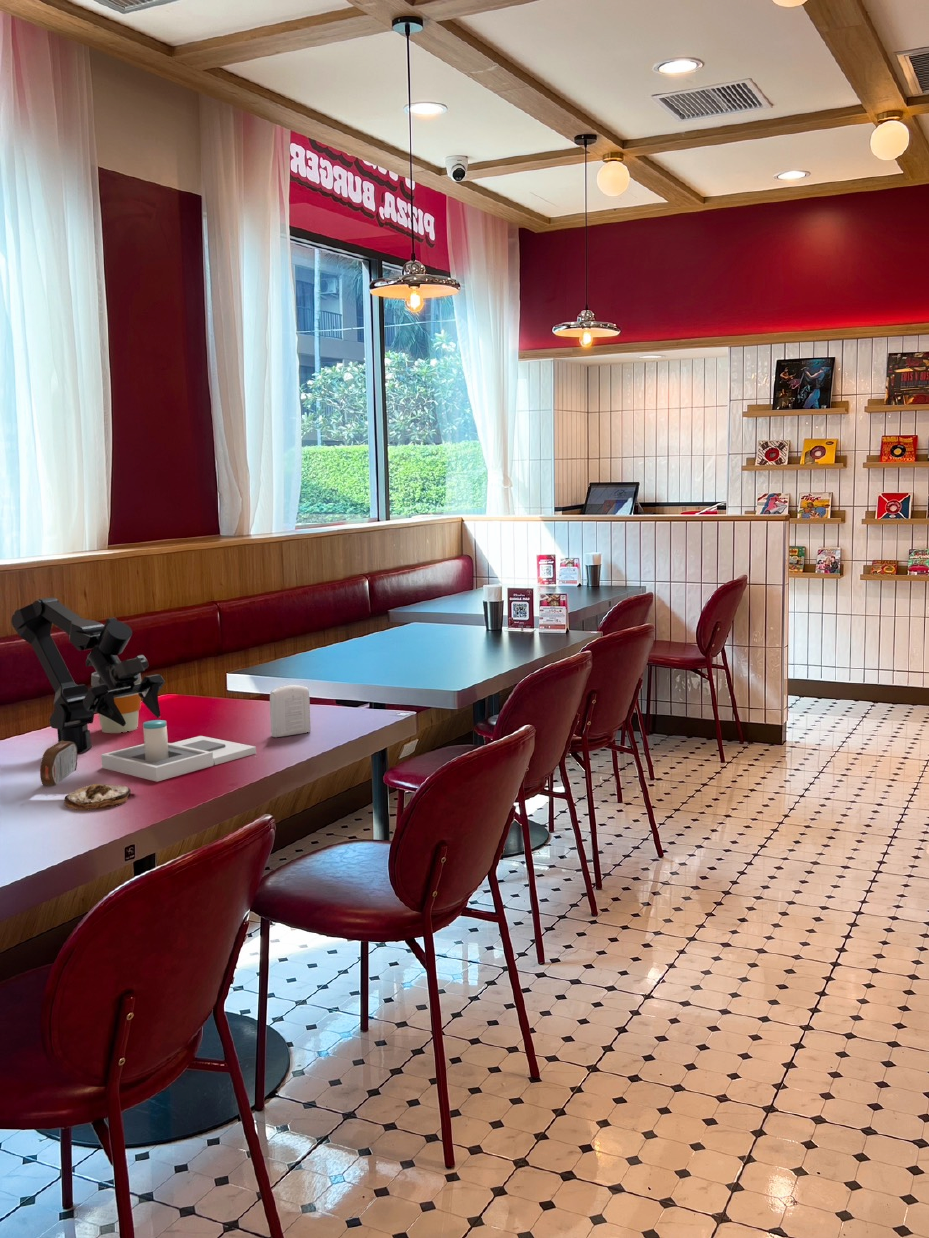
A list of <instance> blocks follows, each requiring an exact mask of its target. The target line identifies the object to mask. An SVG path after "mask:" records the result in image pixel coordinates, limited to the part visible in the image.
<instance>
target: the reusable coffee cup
mask: <svg viewBox="0 0 929 1238" xmlns="http://www.w3.org/2000/svg"><path fill="white" fill-rule="evenodd" d="M137 677H138V679H137V681H134V684H135V685H137V684H141V682H142V681H143V679H142V675H141V673H139V674H138V675H137ZM90 678H91V679H90V685H91V686H90V687H94V686H100V683H99V682H98V681H99V679H100V677H99V675H98V673H97V672H96V671H94V672H92V673H91V677H90ZM101 685H104V684H101ZM114 702H115V704H116V706H117V708H118V709H119V711H120V713H121V714H122V716H123V718H124V720H125V722H126V724H125V726H121V725H120V724H118V723H116V722H115V721H113V720H111V719H109V718H107V717H105V716H103V715H101V714H99V713H97V714H98V717H99V718H98V719H99V722H100V727H101V729H100V730H101V732H102V733H105V734H106V733H107V734H120V733H121V732H123V733H128V732H127V731H129V732H132V731H135V730H137V729H138V728H139V726H138V725H139V710H141V705H142V698H141V697H140V696H139V694H138V693H137V694H132V695H128V696H123V697H116V698H114ZM137 727H138V728H137Z"/></svg>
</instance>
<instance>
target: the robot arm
mask: <svg viewBox="0 0 929 1238" xmlns="http://www.w3.org/2000/svg"><path fill="white" fill-rule="evenodd" d="M10 620H11V622H10V623H11V625H12V627H13V629H14V630H15V631H16V633H17V634H18V637H20V638H21V639H22V640H24V641H26V642H27V643H29V644H30V645H31V647H32V648H33V651H34V653H35V655H36V657H37V659H38V660H39V663H40V664H41V666H42V669H43V670H44V672H45V675H46V677H47V679H48V680H49V683H50V685H51V687H52V689H53V691H54V694H55V695H54V700H53V706H54V710H53V711H52V714H51V715H50V717H49V720H48V721H49V724H50V727H51V728H52V729H56V730H57V743H58V742H60V741H70V742H74V743H75V744H76V746H77V754H82V753H83V754H84V753H85V752H86V751H88V750H89V749H91V748H92V747H93V744H92V742H91V740H92V739H91V730H89V727H88V725H89V724H94V719H95V714H98V713H99V714H101V715H103V716H105V717H107V718H109V719H111V720H113V721H115V722H116V723H118V724H120V725H121V726H125V724H126V722H125V720H124V718H123V716H122V714H121V713H120V711H119V709H118V708H117V706H116V704H115V702H114V698H116V697H123V696H128V695H132V694H137V693H138V694H139V696H140V697H141V703H142V704H144V706H146V708H147V709H148V710H149V711H150V712H151V714H153V716H155V718H156V719H159V718H161V716H162V715H161V708H160V703H159V692H160V691H161V690H162V688H163V687H164V684H165V683H166V680H165V679H164V678H163V676H162V675H161V674H158V673H157V674H152V675H145V676H144V678H143V679H142V681H141V682H140V684H137V685H135V684H134V681H137V679H138V677H137V675H138V674H139V673H140V674H141V673H144V672H145V670H146V669H148V668H149V666H150V664H149V661H148V659H147V658H146V657H145V655H144V654H139V655H137V656H136V657H134V658H130V659H125V660H123V661H121V660H120V658H119V656H118V655H121V654H122V653H123V652H124V650H125V648H126V646H127V645H128V643H129V641H130V639H131V637H132V636H133V630H132V628H131V627H130V626H129V625H128V624H126V623H125V622H123V621H119V620H117V618H116V617H111V618H107V619H106V621H105V624H103V623H101V622H99V621H96V620H94V619H93V620H92V619H85V618H82V617H81V616H79V615H78V614H77V613H76V612H74V611H72V610H71V609H69V608H68V607H67V606H65V605H63V604H62V603H61V602H60V601H59V600H58V598H56V597H46V598H38V599H37V600H34V601H33V602H32V603H31V604H28V605H26V606H24V607H21V608H20V609H19V608H18V609H16V610H15V611H14V614H13V615H12V616H11V619H10ZM53 625H54V626H56V627H57V628H59V629H60V630H61V631H62V632H65V634H66V635H68V637H69V639H68V641H69V642H70V644H72V646H74V648H75V649H76V650H77V651H82V652H84V651H88V650H91V651H90V653H88V654H87V655H86V657H87V658H86V660H85V666H86V667H93V668H94V670H95V672H97V673H98V675H99V677H100V679H99V681H98V682H99V683H100V686H94V687H93V686H90V687H89V688H88V686H87V685H86V684H83V683H82V684H77V683H75V681H74V679H73V678H74V677H72V675H71V673H70V671H69V669H68V667H67V665H66V662H65V660H64V658H63V656H62V655H61V653H60V650H59V649H58V647H57V644H56V642H55V641H54V639H53V636H52V634H51V633H52V628H53ZM101 684H104V685H101ZM99 714H98V715H99Z"/></svg>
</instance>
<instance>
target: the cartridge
mask: <svg viewBox="0 0 929 1238" xmlns="http://www.w3.org/2000/svg"><path fill="white" fill-rule="evenodd" d="M167 725H168V724H167V720H163V719H162V720H161V719H155V720H154V719H153V720H148V721H144V722H143V723H142V729H143V742H144V743H143V744H144V745H145V760H146V761H150V762H155V761H159V760H163V759H167V758H169V754H168V743H169V742H168V741H169V740H168V729H167V727H168V726H167Z"/></svg>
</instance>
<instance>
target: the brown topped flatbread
mask: <svg viewBox="0 0 929 1238" xmlns="http://www.w3.org/2000/svg"><path fill="white" fill-rule="evenodd" d="M130 793H131V789H130V788H129V787H128V786H125V785H118V784H104V783H102V784H100V783H94V784H89V785H87V786H83V787H81V788H77V789H75V790H74V791H72V792H69V793H67V795H66V796H65V797H64V802H63V804H65V807H67V808H68V809H72V810H76V811H78V810H77V809H79V811H87V810H88V809H89V810H88V811H91V810H90V809H94V810H103V809H109V808H113V807H117V806H116V805H118V806H120V805H119V804H121V805H123V804H122V803H124V804H125V803H127V801H128V799H129V795H130ZM127 798H128V799H127ZM126 800H127V801H126Z"/></svg>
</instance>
